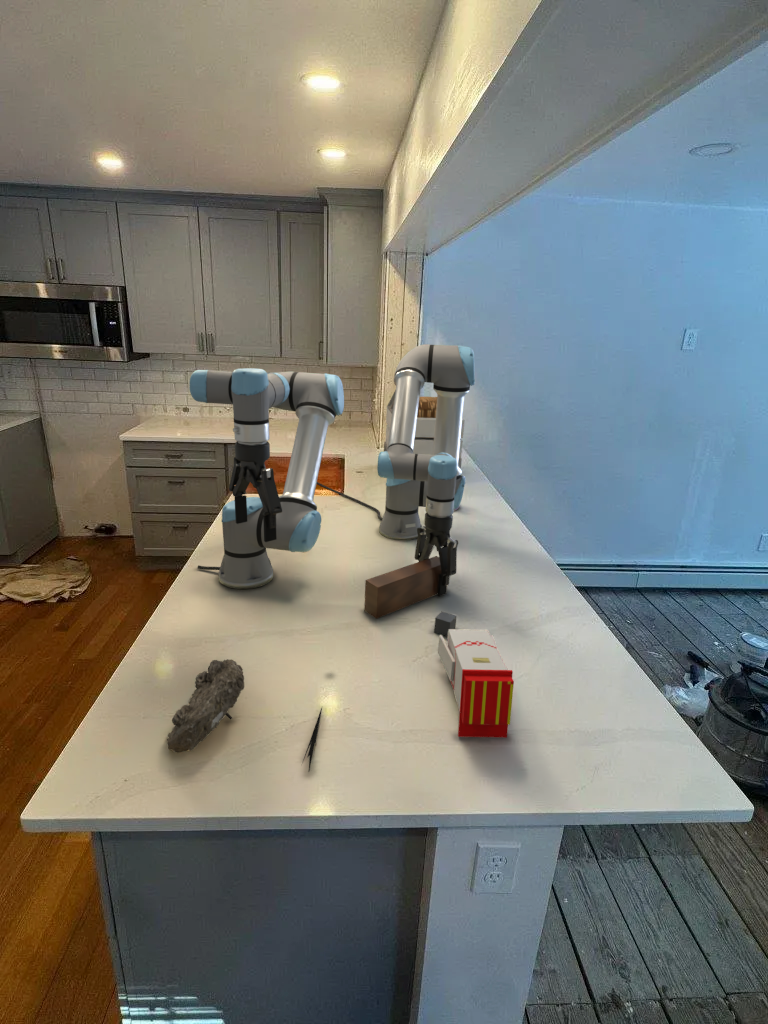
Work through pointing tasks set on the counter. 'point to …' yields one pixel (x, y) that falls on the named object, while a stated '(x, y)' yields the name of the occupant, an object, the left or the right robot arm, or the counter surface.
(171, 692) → the counter surface
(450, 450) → the right robot arm
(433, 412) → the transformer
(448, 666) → the toy
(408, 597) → the bar
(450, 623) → the slate block
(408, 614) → the counter surface
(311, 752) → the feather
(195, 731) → the fossil
